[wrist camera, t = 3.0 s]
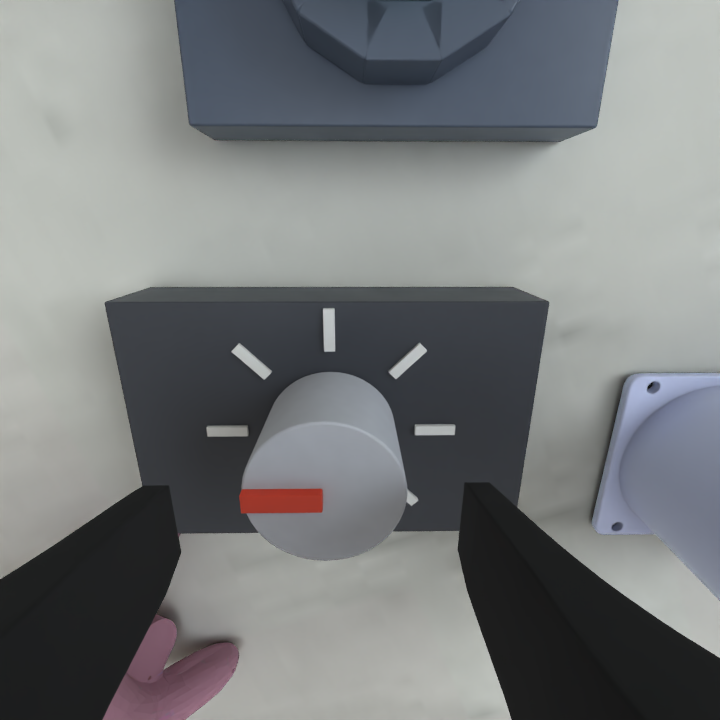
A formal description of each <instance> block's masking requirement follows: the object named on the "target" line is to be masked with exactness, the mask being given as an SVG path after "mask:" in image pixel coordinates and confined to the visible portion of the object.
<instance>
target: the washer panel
mask: <svg viewBox="0 0 720 720" xmlns="http://www.w3.org/2000/svg"><path fill="white" fill-rule="evenodd" d="M105 307H106V312H107V317H108V322H109V327H110V331H111V336H112V341H113V346H114V351H115V356H116V360H117V365H118V370H119V375H120V380H121V384H122V389H123V394H124V399H125V404H126V408H127V413H128V418H129V423H130V428H131V433H132V437H133V442H134V447H135V452H136V457H137V461H138V466H139V471H140V476H141V481H142V486H148V485H169V488H170V494H171V499H172V505H173V510H174V515H175V521H176V526H177V532H178V534H179V533H259V532H258V531H257V530H256V529H255V527H254V526H253V524H252V523H251V521H250V519H249V518H248V516H247V513H241V509H240V500H239V495H240V493H241V490H242V488H241V486H242V478H243V474H244V471H245V468H246V465H247V463H248V461H249V459H250V456H251V454H252V452H253V449H254V447H255V445H256V443H257V440H258V438H259V436H260V434H261V431H262V429H263V427H264V424H265V422H266V420H267V418H268V415H269V413H270V411H271V409H272V407H273V404H274V402H275V401H276V399H277V398H278V396H279V395H280V394H281V393H282V392H283V391H284V390H285V389H286V388H287V387H288V386H289V385H291V384H292V383H294V382H295V381H297V380H299V379H301V378H303V377H305V376H308V375H311V374H315V373H321V372H340V373H345V374H349V375H353V376H356V377H358V378H360V379H362V380H364V381H366V382H368V383H369V384H371V385H372V386H373V387H374V388H376V389H377V390H378V391H379V392H380V393H381V394H382V395H383V397H384V398H385V400H386V401H387V403H388V405H389V407H390V409H391V411H392V414H393V418H394V423H395V428H396V432H397V437H398V442H399V447H400V452H401V457H402V462H403V467H404V472H405V476H406V482H407V501H406V506H405V509H404V512H403V515H402V517H401V519H400V521H399V523H398V524H397V526H396V527H395V529H394V530H393V531H460V522H461V512H462V502H463V493H464V483H465V482H490V483H491V484H492V485H493V486H494V487H495V488H496V489H498V490H499V491H500V492H501V493H502V494H503V495H504V496H505V497H506V498H507V499H508V500H510V501H511V502H512V503H513V504H514V505H515V506H516V507H517V505H518V498H519V492H520V486H521V479H522V473H523V467H524V460H525V454H526V447H527V441H528V435H529V428H530V422H531V416H532V409H533V403H534V396H535V390H536V384H537V377H538V371H539V365H540V358H541V352H542V345H543V339H544V333H545V326H546V320H547V314H548V307H549V302H548V301H546V300H544V299H541V298H539V297H536V296H534V295H531V294H529V293H526V292H524V291H521V290H519V289H516V288H514V287H150V288H147V289H144V290H141V291H138V292H135V293H132V294H129V295H126V296H122V297H119V298H116V299H113V300H110V301H107V302H105Z"/></svg>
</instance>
